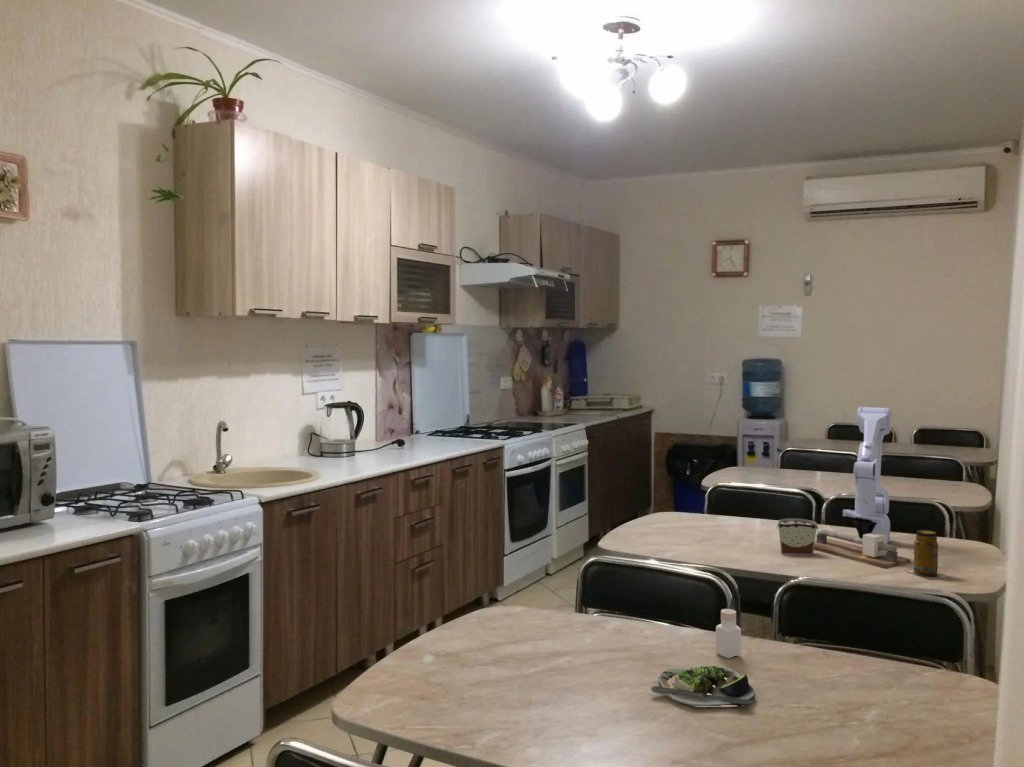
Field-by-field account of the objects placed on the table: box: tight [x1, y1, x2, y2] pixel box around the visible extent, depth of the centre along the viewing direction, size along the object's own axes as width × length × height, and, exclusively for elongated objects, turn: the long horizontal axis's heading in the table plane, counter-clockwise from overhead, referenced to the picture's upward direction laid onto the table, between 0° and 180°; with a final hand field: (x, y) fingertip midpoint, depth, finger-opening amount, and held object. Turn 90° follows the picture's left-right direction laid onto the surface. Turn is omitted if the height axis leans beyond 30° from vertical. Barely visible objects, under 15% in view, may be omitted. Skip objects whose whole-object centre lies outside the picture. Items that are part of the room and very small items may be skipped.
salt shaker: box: [715, 608, 742, 659], centre depth 174 cm, size 4×4×10 cm
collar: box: [862, 532, 888, 557], centre depth 248 cm, size 6×4×6 cm, turn 120°
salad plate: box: [650, 664, 756, 707], centre depth 156 cm, size 19×18×5 cm
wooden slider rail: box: [813, 527, 911, 569], centre depth 254 cm, size 12×29×6 cm, turn 30°
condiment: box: [906, 529, 950, 580], centre depth 232 cm, size 7×8×12 cm
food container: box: [776, 518, 819, 556], centre depth 257 cm, size 12×6×10 cm, turn 83°
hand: (864, 543), depth 254 cm, fingers closed
